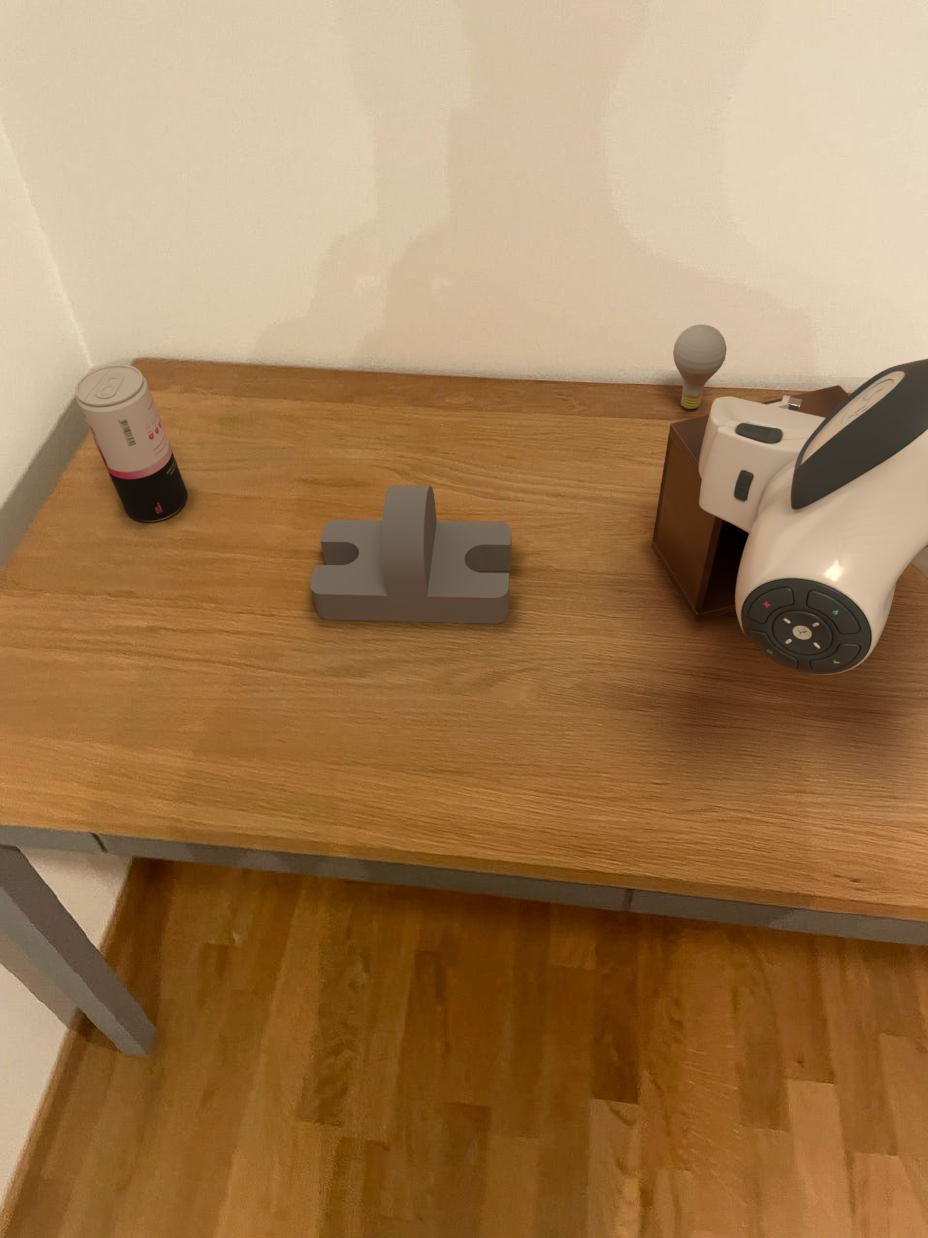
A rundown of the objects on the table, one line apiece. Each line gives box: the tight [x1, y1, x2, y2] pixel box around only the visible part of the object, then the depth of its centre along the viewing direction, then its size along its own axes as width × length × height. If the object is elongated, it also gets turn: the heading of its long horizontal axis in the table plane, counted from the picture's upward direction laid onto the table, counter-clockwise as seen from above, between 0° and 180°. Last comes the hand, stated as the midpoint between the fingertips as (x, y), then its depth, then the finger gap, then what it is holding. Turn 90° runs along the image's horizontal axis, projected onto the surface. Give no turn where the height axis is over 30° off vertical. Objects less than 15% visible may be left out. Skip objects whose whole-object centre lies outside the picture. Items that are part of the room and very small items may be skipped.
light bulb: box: [672, 324, 728, 410], centre depth 100 cm, size 6×6×10 cm
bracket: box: [309, 484, 513, 625], centre depth 84 cm, size 10×18×11 cm, turn 86°
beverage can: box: [74, 363, 188, 523], centre depth 92 cm, size 6×6×15 cm
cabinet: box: [650, 384, 850, 622], centre depth 82 cm, size 16×10×15 cm, turn 106°
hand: (852, 419), depth 72 cm, fingers open, 8 cm apart
